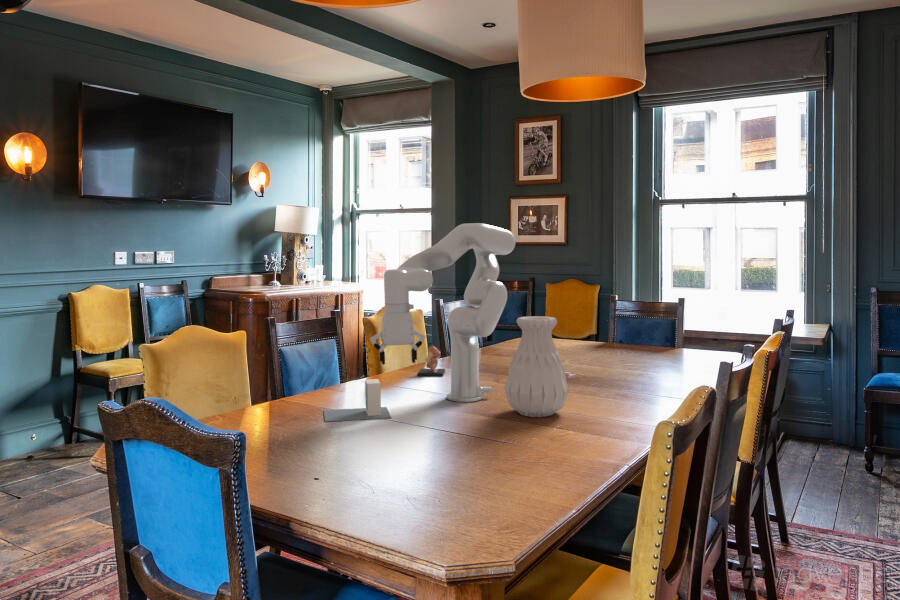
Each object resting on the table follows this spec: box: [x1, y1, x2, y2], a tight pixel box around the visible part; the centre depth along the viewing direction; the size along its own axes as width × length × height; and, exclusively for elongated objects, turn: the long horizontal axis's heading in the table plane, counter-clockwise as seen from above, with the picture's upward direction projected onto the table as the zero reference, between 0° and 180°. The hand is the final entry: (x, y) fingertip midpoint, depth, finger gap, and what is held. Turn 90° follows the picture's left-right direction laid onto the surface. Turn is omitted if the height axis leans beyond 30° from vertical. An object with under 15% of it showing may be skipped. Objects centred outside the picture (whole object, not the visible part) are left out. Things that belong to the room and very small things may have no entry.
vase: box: [504, 315, 569, 418], centre depth 216 cm, size 20×20×30 cm
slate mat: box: [323, 406, 392, 423], centre depth 216 cm, size 20×14×1 cm
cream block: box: [364, 378, 382, 416], centre depth 217 cm, size 4×7×10 cm, turn 12°
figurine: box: [417, 344, 446, 378], centre depth 283 cm, size 10×10×12 cm
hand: (398, 363), depth 218 cm, fingers open, 9 cm apart
